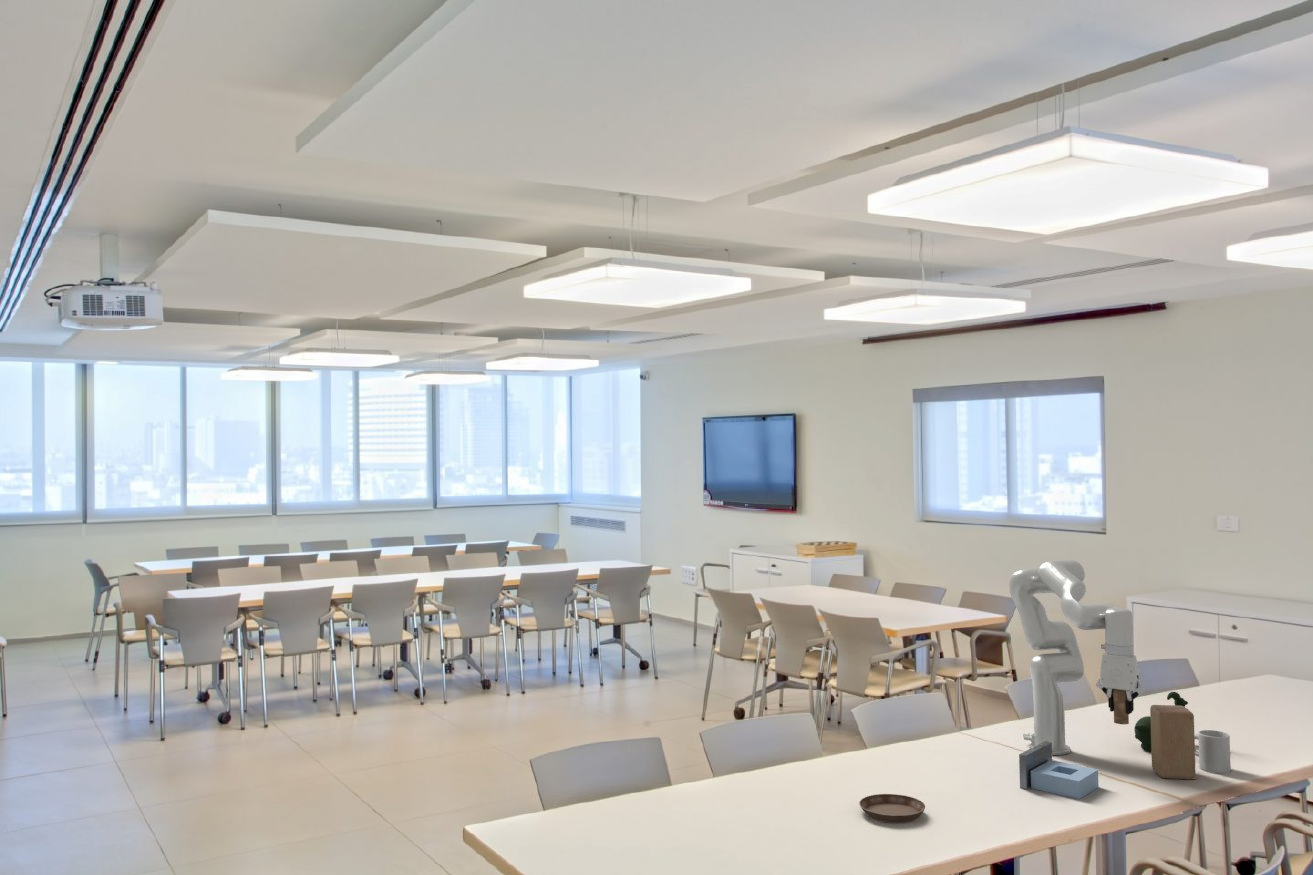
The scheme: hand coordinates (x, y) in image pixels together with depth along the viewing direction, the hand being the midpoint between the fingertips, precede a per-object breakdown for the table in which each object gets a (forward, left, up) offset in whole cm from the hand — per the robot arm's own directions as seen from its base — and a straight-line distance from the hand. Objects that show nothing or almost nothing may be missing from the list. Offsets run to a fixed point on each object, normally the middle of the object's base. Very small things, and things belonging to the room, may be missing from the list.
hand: (1121, 711), depth 295 cm
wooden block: (+8, +18, -21) cm, 29 cm away
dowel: (0, 0, -3) cm, 3 cm away
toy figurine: (-4, +44, -21) cm, 49 cm away
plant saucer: (-37, -68, -22) cm, 80 cm away
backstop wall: (-19, -16, -21) cm, 33 cm away
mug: (+14, +32, -21) cm, 41 cm away
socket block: (-11, -16, -21) cm, 28 cm away
